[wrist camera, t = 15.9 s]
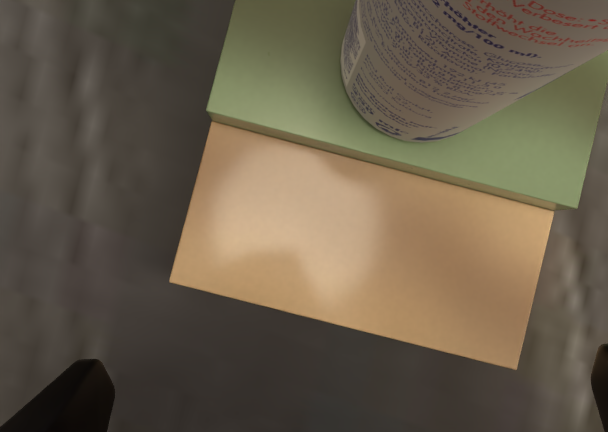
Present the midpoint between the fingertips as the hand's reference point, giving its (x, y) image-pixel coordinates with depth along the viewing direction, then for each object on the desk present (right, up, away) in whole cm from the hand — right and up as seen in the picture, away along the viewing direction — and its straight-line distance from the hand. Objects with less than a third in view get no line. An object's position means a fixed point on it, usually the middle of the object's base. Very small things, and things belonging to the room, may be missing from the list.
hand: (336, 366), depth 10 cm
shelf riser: (+3, +8, +11) cm, 14 cm away
